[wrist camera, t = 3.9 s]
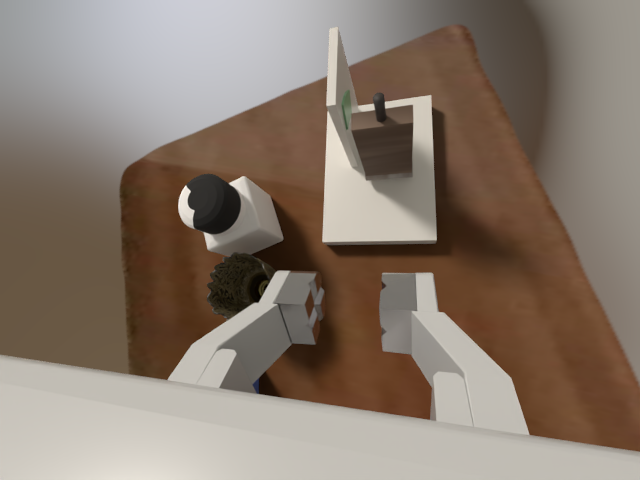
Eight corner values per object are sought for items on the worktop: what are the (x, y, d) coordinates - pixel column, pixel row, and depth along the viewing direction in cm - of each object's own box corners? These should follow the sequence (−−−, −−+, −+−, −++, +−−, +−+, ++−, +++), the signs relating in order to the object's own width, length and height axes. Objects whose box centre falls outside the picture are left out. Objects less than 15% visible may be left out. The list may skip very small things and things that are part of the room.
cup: (305, 277, 37) (280, 271, 29) (278, 329, 37) (245, 336, 29) (261, 252, 40) (226, 241, 32) (235, 300, 39) (194, 300, 32)
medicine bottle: (270, 195, 41) (219, 154, 30) (285, 240, 39) (235, 215, 28) (228, 215, 42) (164, 183, 31) (240, 259, 40) (175, 243, 29)
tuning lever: (412, 179, 33) (415, 104, 20) (366, 183, 35) (343, 114, 22) (411, 163, 34) (415, 79, 21) (367, 167, 35) (344, 91, 22)
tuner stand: (435, 243, 33) (453, 205, 20) (326, 245, 37) (282, 213, 24) (429, 105, 37) (442, -3, 24) (331, 119, 41) (295, 32, 28)
